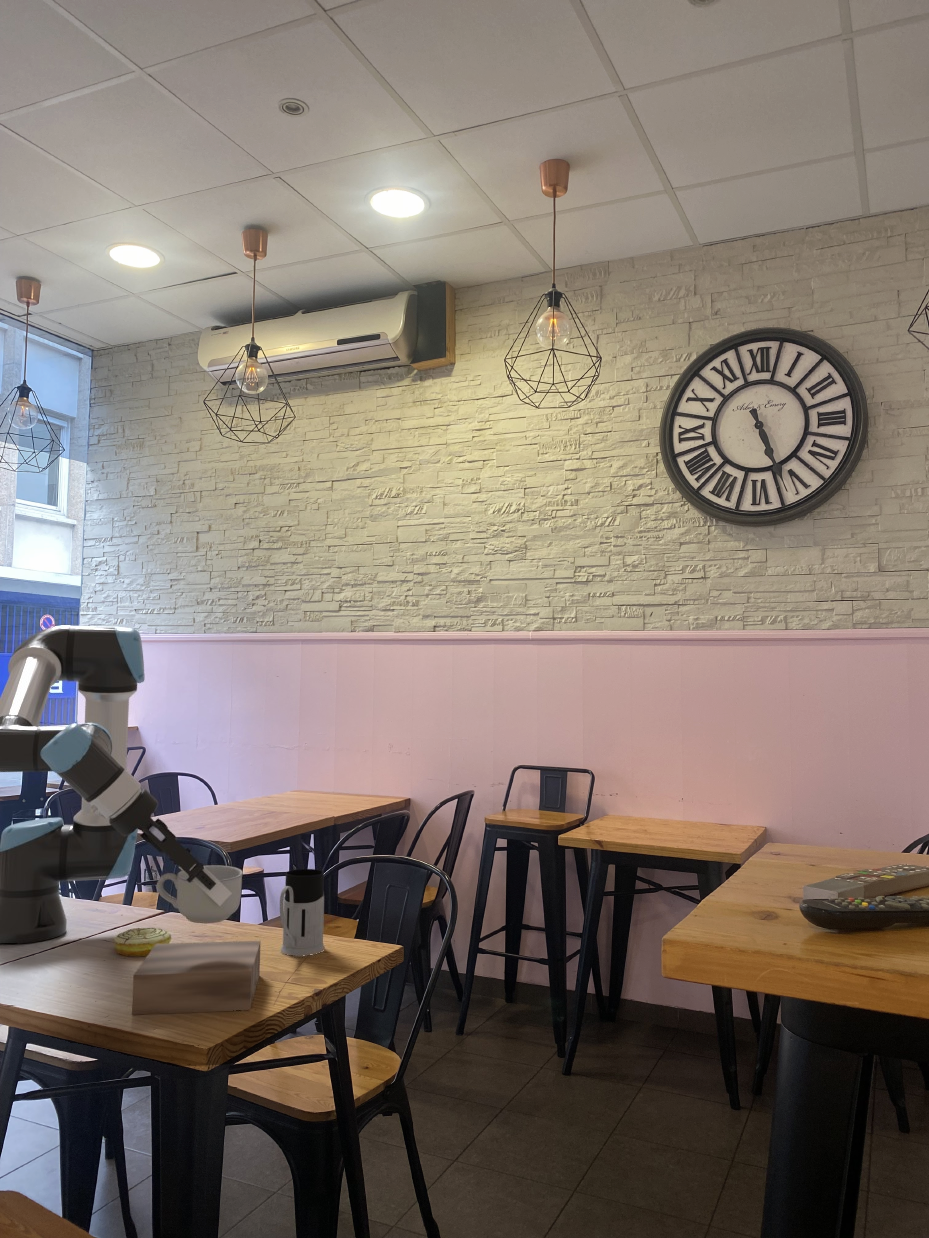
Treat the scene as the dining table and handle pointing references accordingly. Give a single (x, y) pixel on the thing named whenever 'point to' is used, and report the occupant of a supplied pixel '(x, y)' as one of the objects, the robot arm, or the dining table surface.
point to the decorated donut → (140, 941)
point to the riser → (197, 977)
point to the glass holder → (302, 912)
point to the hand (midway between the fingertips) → (217, 892)
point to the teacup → (204, 895)
